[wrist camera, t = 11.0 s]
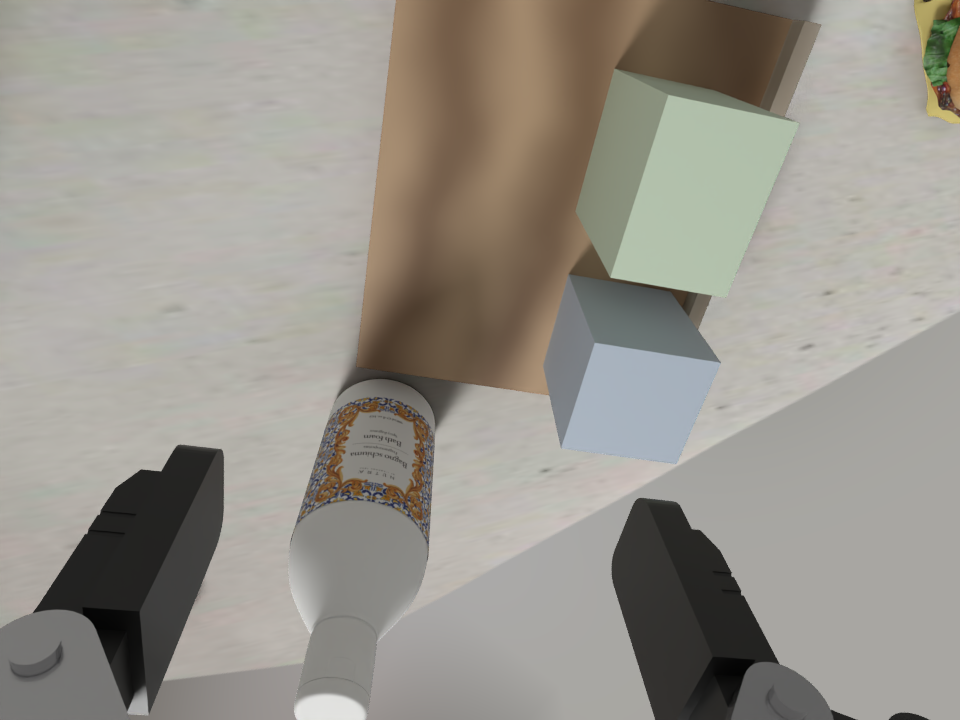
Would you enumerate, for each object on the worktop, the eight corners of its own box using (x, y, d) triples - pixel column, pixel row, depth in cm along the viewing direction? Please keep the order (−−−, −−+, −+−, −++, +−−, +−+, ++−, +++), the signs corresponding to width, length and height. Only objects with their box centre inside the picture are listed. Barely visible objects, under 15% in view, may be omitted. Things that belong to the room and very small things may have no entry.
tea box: (575, 211, 33) (610, 277, 26) (614, 68, 30) (668, 94, 22) (667, 228, 34) (729, 298, 26) (716, 90, 31) (803, 123, 23)
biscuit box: (543, 365, 38) (561, 448, 31) (568, 274, 35) (594, 342, 28) (640, 380, 39) (679, 464, 32) (673, 292, 36) (724, 363, 29)
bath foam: (447, 388, 41) (437, 675, 24) (422, 469, 44) (397, 772, 27) (341, 364, 40) (250, 646, 23) (323, 448, 43) (231, 751, 26)
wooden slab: (360, 350, 40) (353, 377, 37) (406, -66, 29) (401, -72, 26) (651, 394, 42) (665, 422, 39) (795, 23, 31) (827, 26, 28)
